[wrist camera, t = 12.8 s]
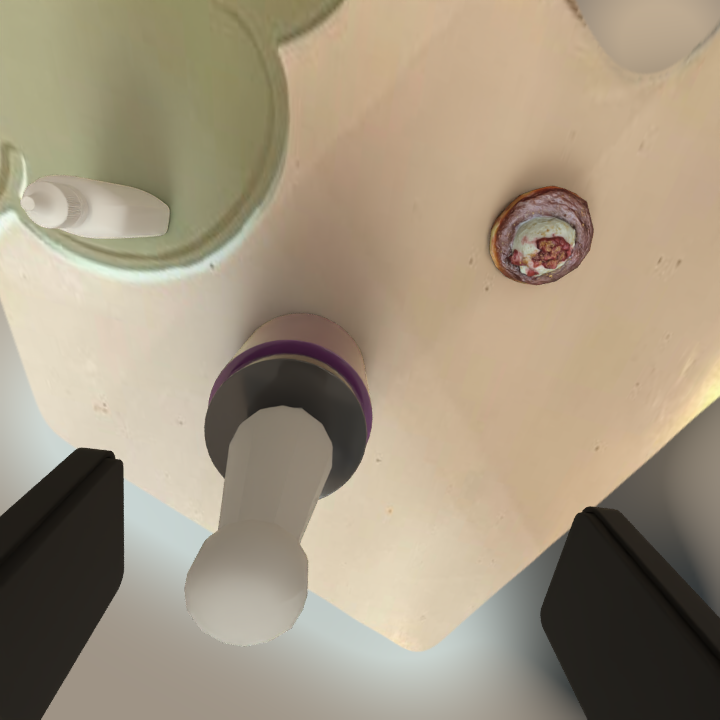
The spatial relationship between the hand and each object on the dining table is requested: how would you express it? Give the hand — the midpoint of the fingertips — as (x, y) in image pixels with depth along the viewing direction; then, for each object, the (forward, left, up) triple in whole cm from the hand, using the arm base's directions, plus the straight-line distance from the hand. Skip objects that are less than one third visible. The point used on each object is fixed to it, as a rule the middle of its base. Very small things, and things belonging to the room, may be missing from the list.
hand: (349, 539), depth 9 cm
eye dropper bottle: (-17, -4, -29) cm, 34 cm away
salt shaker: (+1, -7, -17) cm, 19 cm away
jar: (+1, -7, -29) cm, 30 cm away
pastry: (+9, +14, -29) cm, 33 cm away
